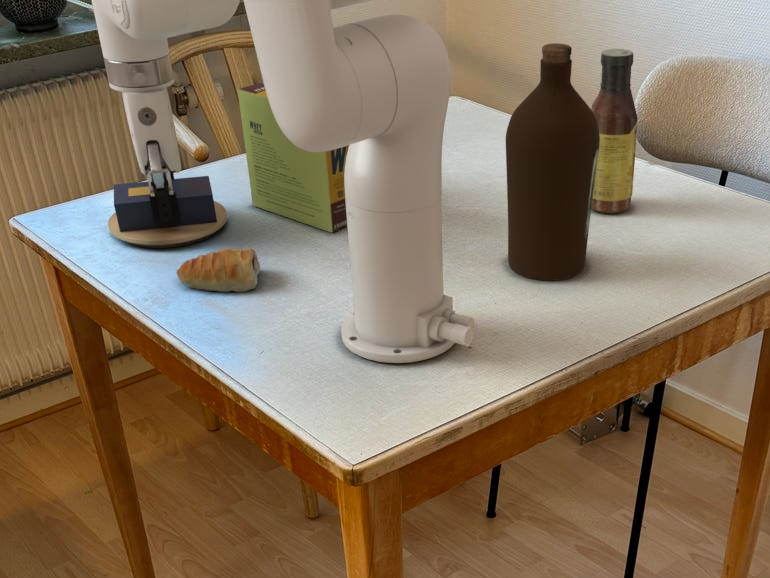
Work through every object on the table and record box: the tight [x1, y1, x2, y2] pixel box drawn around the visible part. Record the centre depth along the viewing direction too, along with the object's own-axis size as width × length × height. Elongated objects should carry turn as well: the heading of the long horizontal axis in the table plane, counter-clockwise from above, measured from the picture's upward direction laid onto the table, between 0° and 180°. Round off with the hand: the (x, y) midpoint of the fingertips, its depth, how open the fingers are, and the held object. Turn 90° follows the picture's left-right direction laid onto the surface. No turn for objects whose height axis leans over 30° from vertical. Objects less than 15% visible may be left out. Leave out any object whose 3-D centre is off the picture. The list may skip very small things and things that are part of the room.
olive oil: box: [505, 42, 600, 281], centre depth 115 cm, size 11×11×25 cm
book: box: [107, 175, 228, 245], centre depth 129 cm, size 15×15×4 cm
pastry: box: [176, 246, 261, 293], centre depth 118 cm, size 9×7×4 cm
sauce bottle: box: [590, 48, 639, 214], centre depth 132 cm, size 6×6×20 cm
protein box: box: [237, 81, 349, 233], centre depth 132 cm, size 10×15×16 cm
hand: (166, 210), depth 130 cm, fingers open, 8 cm apart
